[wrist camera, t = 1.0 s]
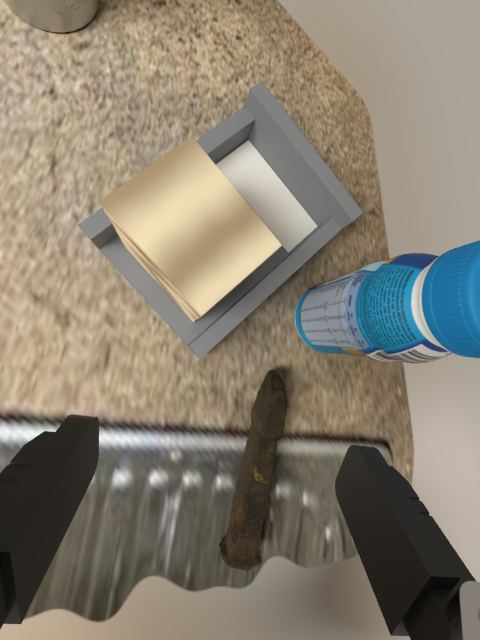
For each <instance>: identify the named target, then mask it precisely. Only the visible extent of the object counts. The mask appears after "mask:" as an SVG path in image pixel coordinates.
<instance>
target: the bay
mask: <svg viewBox="0 0 480 640" xmlns="http://www.w3.org/2000/svg"><path fill="white" fill-rule="evenodd" d="M196 142H197V143H198V144H199V145H200V146H201V148H202V149H203V150H204V151H205V153H206V154H207V155H208V156H209V157H210V159H211V160H212V161H213V162H214V163H215V165H216V166H217V167H218V168H219V169H220V171H221V172H222V173H223V174H224V176H225V177H226V178H227V179H228V180H229V182H230V183H231V184H232V185H233V186H234V188H235V189H236V190H237V191H238V192H239V194H240V195H241V196H242V197H243V199H244V200H245V201H246V202H247V203H248V205H249V206H250V207H251V208H252V209H253V211H254V212H255V213H256V214H257V215H258V217H259V218H260V219H261V220H262V222H263V223H264V224H265V225H266V226H267V228H268V229H269V230H270V231H271V232H272V234H273V235H274V236H275V237H276V239H277V240H278V241H279V242H280V243H281V245H282V246H281V247H279V248H278V250H277V251H276V252H275V253H273V254H272V255H271V256H270V257H269V258H268V259H267V260H266V261H264V262H263V263H262V264H261V265H260V266H259V267H258V268H256V269H255V270H254V271H253V272H252V273H251V274H250V275H249V276H247V277H246V278H245V279H244V280H243V281H242V282H241V283H239V284H238V285H237V286H236V287H235V288H234V289H233V290H232V291H230V292H229V293H228V294H227V295H226V296H225V297H224V298H222V299H221V300H220V301H219V302H218V303H217V304H216V305H215V306H213V307H212V308H211V309H210V310H209V311H208V312H207V313H205V314H204V315H203V316H202V317H201V318H198V319H197V320H196V321H194V322H192V321H191V319H190V318H189V317H188V316H187V315H186V314H185V313H184V312H183V311H182V309H181V308H180V307H179V306H178V305H177V304H176V303H175V302H174V301H173V300H172V298H171V297H170V296H169V295H168V294H167V293H166V292H165V291H164V290H163V288H162V287H161V286H160V285H159V284H158V283H157V282H156V281H155V280H154V279H153V277H152V276H151V275H150V274H149V273H148V272H147V271H146V270H145V269H144V267H143V266H142V265H141V264H140V263H139V262H138V261H137V260H136V259H135V257H134V256H133V255H132V254H131V253H130V252H129V251H128V250H127V249H126V248H125V246H124V244H123V242H122V240H121V239H120V237H119V235H118V233H117V231H116V230H115V228H114V226H113V224H112V223H111V221H110V219H109V217H108V216H107V215H106V214H105V212H104V210H103V208H101V209H100V210H98V211H97V212H96V213H94V214H93V215H91V216H90V217H89V218H87V219H86V220H84V221H83V222H82V223H80V224H79V225H78V226H79V227H80V228H81V230H82V231H83V232H84V233H85V234H86V235H87V236H88V238H89V239H90V240H91V241H92V242H93V243H94V244H95V245H96V246H97V247H98V249H99V250H100V251H101V252H102V253H103V254H104V255H105V256H106V257H107V258H108V259H109V261H110V262H111V263H112V264H113V265H114V266H115V267H116V268H117V269H118V270H119V271H120V272H121V274H122V275H123V276H124V277H125V278H126V279H127V280H128V281H129V282H130V283H131V284H132V286H133V287H134V288H135V289H136V290H137V291H138V292H139V293H140V294H141V295H142V296H143V298H144V299H145V300H146V301H147V302H148V303H149V304H150V305H151V306H152V307H153V308H154V310H155V311H156V312H157V313H158V314H159V315H160V316H161V317H162V318H163V319H164V320H165V322H166V323H167V324H168V325H169V326H170V327H171V328H172V329H173V330H174V331H175V332H176V334H177V335H178V336H179V337H180V338H181V339H182V340H183V341H184V342H185V343H186V344H187V346H188V347H189V348H190V349H191V350H192V351H193V352H194V353H195V354H196V355H197V356H198V357H199V358H200V359H201V358H202V357H203V356H204V355H206V354H207V353H208V352H209V351H210V350H211V349H212V348H213V347H214V346H215V345H216V344H217V343H219V342H220V341H221V340H222V339H223V338H224V337H225V336H226V335H227V334H228V333H229V332H230V331H232V330H233V329H234V328H235V327H236V326H237V325H238V324H239V323H240V322H241V321H242V320H243V319H245V318H246V317H247V316H248V315H249V314H250V313H251V312H252V311H253V310H254V309H255V308H256V307H258V306H259V305H260V304H261V303H262V302H263V301H264V300H265V299H266V298H267V297H268V296H270V295H271V294H272V293H273V292H274V291H275V290H276V289H277V288H278V287H279V286H280V285H281V284H283V283H284V282H285V281H286V280H287V279H288V278H289V277H290V276H291V275H292V274H293V273H294V272H296V271H297V270H298V269H299V268H300V267H301V266H302V265H303V264H304V263H305V262H306V261H307V260H309V259H310V258H311V257H312V256H313V255H314V254H315V253H316V252H317V251H318V250H319V249H321V248H322V247H323V246H324V245H325V244H326V243H327V242H328V241H329V240H330V239H331V238H332V237H334V236H335V235H336V234H337V233H338V232H339V231H340V230H341V229H342V228H344V227H345V226H347V225H349V224H350V223H352V222H353V221H354V220H355V219H356V218H358V217H359V216H360V215H361V214H362V213H363V211H362V210H361V209H360V207H359V206H358V205H357V203H356V202H355V201H354V200H353V198H352V197H351V196H350V194H349V193H348V192H347V190H346V189H345V188H344V187H343V185H342V184H341V183H340V181H339V180H338V179H337V178H336V176H335V175H334V174H333V172H332V171H331V170H330V168H329V167H328V166H327V165H326V163H325V162H324V161H323V159H322V158H321V157H320V156H319V154H318V153H317V152H316V150H315V149H314V148H313V146H312V145H311V144H310V143H309V141H308V140H307V139H306V137H305V136H304V135H303V134H302V132H301V131H300V130H299V128H298V127H297V126H296V125H295V123H294V122H293V121H292V119H291V118H290V117H289V115H288V114H287V113H286V112H285V110H284V109H283V108H282V106H281V105H280V104H279V103H278V101H277V100H276V99H275V97H274V96H273V95H272V93H271V92H270V91H269V90H268V88H267V87H266V86H265V84H264V83H263V82H262V81H261V82H260V83H259V84H257V85H256V86H254V87H253V88H251V89H250V91H249V95H248V98H247V101H246V105H245V106H244V107H243V108H242V109H240V110H239V111H237V112H236V113H235V114H233V115H232V116H230V117H229V118H228V119H226V120H225V121H223V122H222V123H221V124H219V125H218V126H216V127H215V128H213V129H212V130H211V131H209V132H208V133H206V134H205V135H204V136H202V137H201V138H199V139H198V140H197V141H196Z"/></svg>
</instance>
